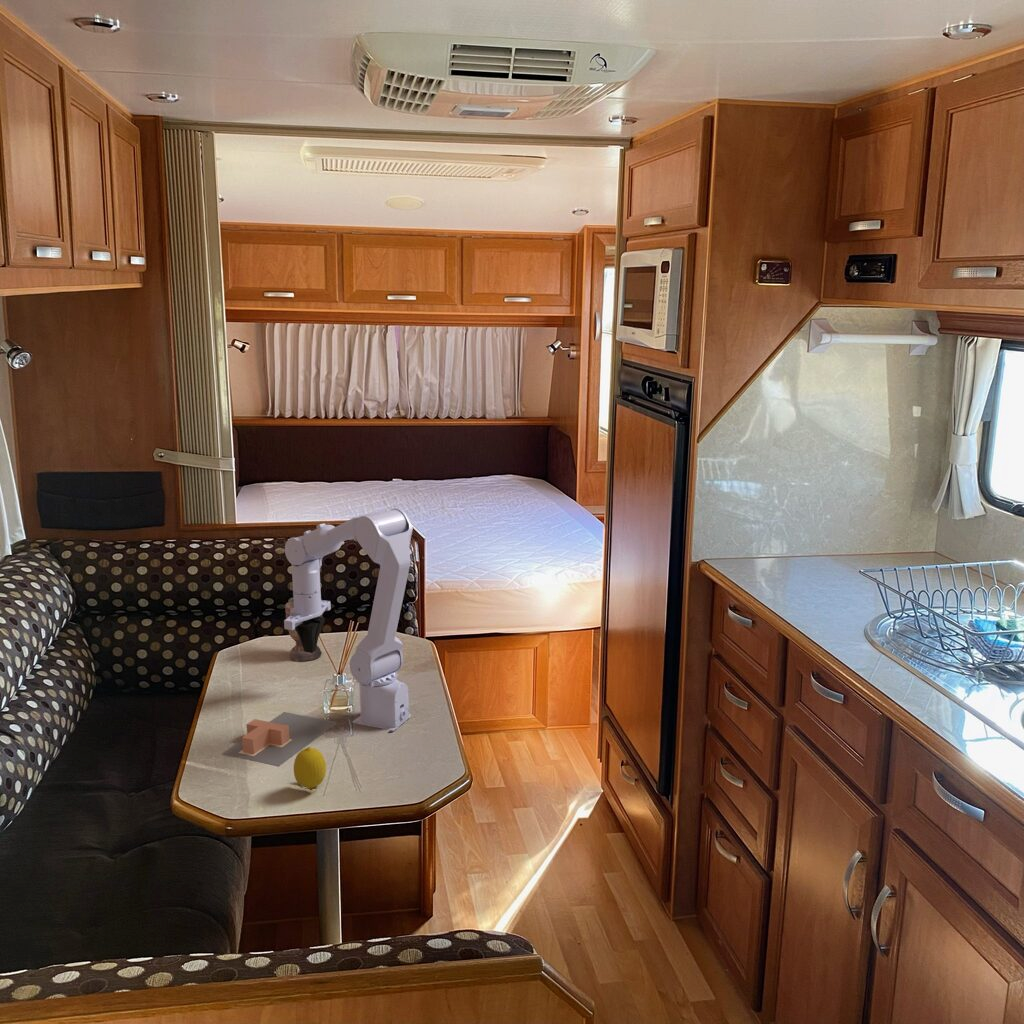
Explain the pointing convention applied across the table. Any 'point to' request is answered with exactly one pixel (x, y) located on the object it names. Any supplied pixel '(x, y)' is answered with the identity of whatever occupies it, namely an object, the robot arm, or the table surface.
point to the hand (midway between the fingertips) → (309, 651)
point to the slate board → (300, 736)
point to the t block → (264, 735)
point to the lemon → (309, 768)
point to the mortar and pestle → (298, 651)
